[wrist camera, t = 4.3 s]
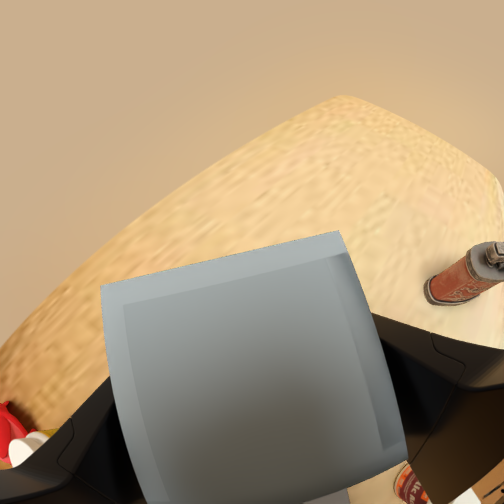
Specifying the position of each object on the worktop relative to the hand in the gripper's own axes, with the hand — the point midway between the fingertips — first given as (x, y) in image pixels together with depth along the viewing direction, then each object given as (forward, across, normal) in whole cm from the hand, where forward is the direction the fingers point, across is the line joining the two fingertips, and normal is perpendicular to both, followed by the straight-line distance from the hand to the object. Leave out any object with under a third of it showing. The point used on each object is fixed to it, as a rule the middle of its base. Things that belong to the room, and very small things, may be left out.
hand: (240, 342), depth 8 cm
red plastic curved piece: (+6, +26, +13) cm, 29 cm away
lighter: (+9, -21, +10) cm, 25 cm away
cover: (+4, 0, +6) cm, 7 cm away
